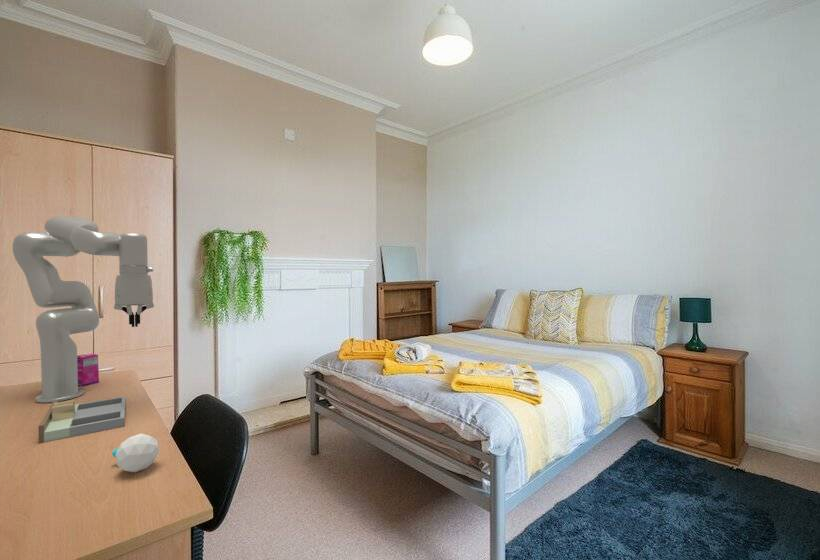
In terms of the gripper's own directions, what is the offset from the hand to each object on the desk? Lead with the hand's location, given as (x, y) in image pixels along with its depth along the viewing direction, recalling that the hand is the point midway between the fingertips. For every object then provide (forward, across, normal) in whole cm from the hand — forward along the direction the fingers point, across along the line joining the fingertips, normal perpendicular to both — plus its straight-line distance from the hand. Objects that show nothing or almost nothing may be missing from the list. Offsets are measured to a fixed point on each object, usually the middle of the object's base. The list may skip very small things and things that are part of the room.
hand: (134, 326), depth 124 cm
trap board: (+27, +12, +6) cm, 30 cm away
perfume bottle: (+27, +1, +47) cm, 54 cm away
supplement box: (+27, +16, -44) cm, 54 cm away
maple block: (+24, +17, +6) cm, 31 cm away
